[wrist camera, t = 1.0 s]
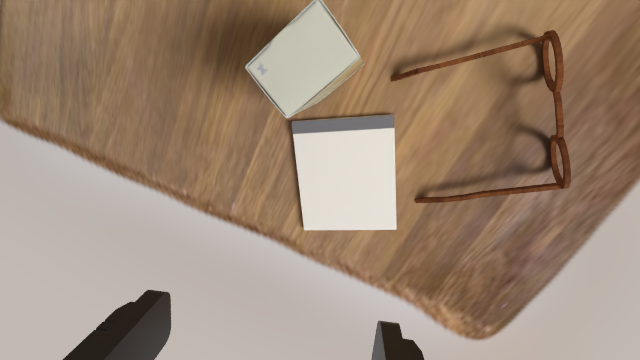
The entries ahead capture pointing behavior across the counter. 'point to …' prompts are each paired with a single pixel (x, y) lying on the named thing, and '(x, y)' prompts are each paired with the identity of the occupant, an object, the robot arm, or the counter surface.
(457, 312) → the counter surface
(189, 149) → the counter surface
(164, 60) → the counter surface
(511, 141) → the counter surface
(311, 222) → the board
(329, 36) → the skincare box
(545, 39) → the glasses
